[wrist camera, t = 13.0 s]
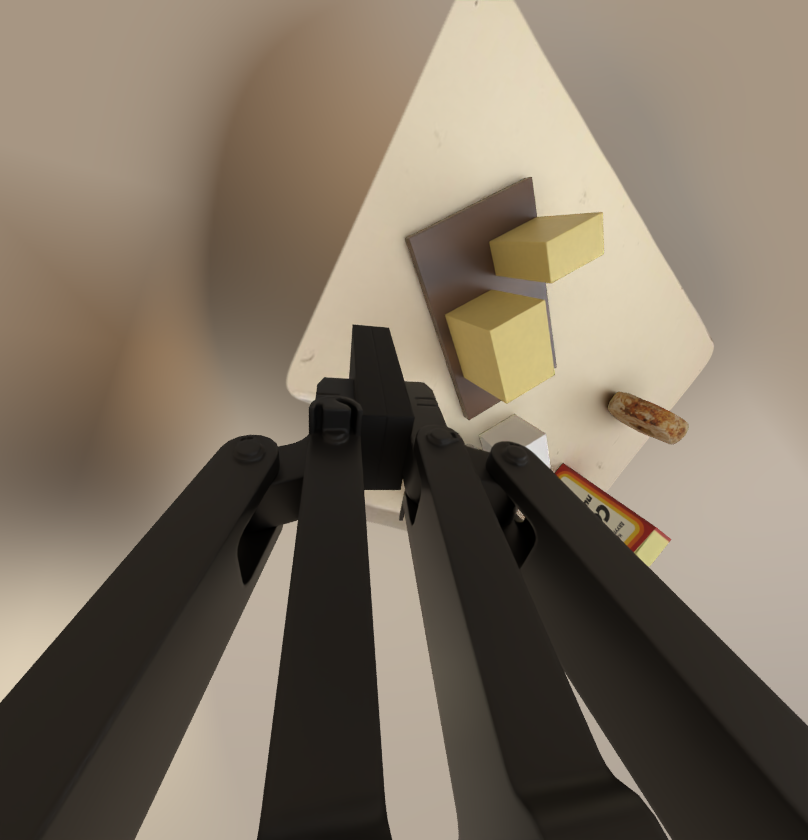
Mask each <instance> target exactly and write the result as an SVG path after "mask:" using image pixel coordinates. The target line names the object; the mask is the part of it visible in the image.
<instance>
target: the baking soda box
mask: <svg viewBox="0 0 808 840" xmlns="http://www.w3.org/2000/svg"><path fill="white" fill-rule="evenodd" d="M555 474H556V475H557V476H558V477H559V478H560V479H561V480H562V481H563V482H564V483H565V484H566V485H567V486H568V487H569V488H570V489H571V490H572V491H573V492H574V493H575V494H576V495H577V496H578V497H579V498H580V499H581V500H582V501H583V502H584V503H585V504H586V505H587V506H588V507H589V508H590V509H591V510H592V511H593V512H594V513H595V514H596V515H597V516H598V517H599V518H600V519H601V520H602V521H603V522H604V523H605V524H606V525H607V526H608V527H609V528H610V529H611V530H612V531H613V532H614V533H615V534H616V535H617V536H618V537H619V538H620V539H621V540H622V541H623V542H624V543H625V544H626V545H627V546H628V547H629V548H630V549H631V550H632V551H633V552H634V553H635V554H636V555H637V556H638V557H639V558H640V559H641V560H642V561H643V562H644V563H645V564H646V565H647V566H651V564H652V563H653V562H654V561H655V559H656V558H657V557H658V556H659V554H660V553H661V552H662V551H663V549H664V548H665V547H666V546H667V544H668V543H669V542H670V540H671V539H670V538H669V537H667V536H666V535H665V534H664V533H663V532H661V531H660V530H659V529H658V528H656V527H655V526H653V525H652V524H650V523H649V522H648V521H646V520H645V519H643V518H642V517H640V516H639V515H637V514H636V513H635V512H633V511H632V510H630V509H629V508H627V507H626V506H625V505H623V504H622V503H620V502H618V501H617V500H616V499H614V498H613V497H611V496H610V495H609V494H607V493H606V492H604V491H603V490H601V489H600V488H598V487H597V486H596V485H594V484H593V483H591V482H590V481H588V480H587V479H585V478H584V477H583V476H581V475H580V474H578V473H577V472H575V471H574V470H572V469H571V468H569V467H568V466H567V465H565V464H564V463H563V464H562V465H561V466H560V467H559V469H558V470H557V471H556V472H555Z"/></svg>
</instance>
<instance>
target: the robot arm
mask: <svg viewBox="0 0 808 840" xmlns="http://www.w3.org/2000/svg"><path fill="white" fill-rule="evenodd" d="M435 399H436V398H435V396H434V393H433V391H432V389H430V388H429V387H428V386H427V385H426V384H425V383H422V382H407V381H404V378H403V375H402V371H401V368H400V364H399V361H398V357H397V354H396V351H395V347H394V344H393V340H392V337H391V333H390V330H389V328H385V327H374V326H363V325H353V328H352V343H351V358H350V373H349V379H342V378H326V377H324V378H323V379H322V380H321V381H320V382H319V383H318V384H317V392H316V400H315V401H313V402H312V403H311V405H310V407H309V435H308V436H307V437H305V438H304V439H303V440H300V441H298V442H296V443H293V444H289V445H284V446H279V447H278V446H277V444H276V443H275V442H274V441H273V440H272V439H270V438H268V437H265V436H261V435H246V436H241V437H237V438H235V439H233V440H230V441H228V442H227V443H226V444H224V445H223V446H222V447H221V448H220V449H219V450H218V451H217V452H216V454H215V455H214V456H213V457H212V458H211V459H210V461H209V462H208V463H207V464H206V465H205V466H204V467H203V469H202V470H201V471H200V472H199V473H198V474H197V476H196V477H195V478H194V479H193V480H192V481H191V483H190V484H189V485H188V486H187V487H186V488H185V490H184V491H183V492H182V493H181V494H180V495H179V496H178V498H177V499H176V500H175V501H174V502H173V503H172V505H171V506H170V507H169V508H168V509H167V510H166V511H165V513H164V514H163V515H162V516H161V517H160V519H159V520H158V521H157V522H156V523H155V524H154V525H153V527H152V528H151V529H150V530H149V531H148V532H147V534H146V535H145V536H144V537H143V538H142V539H141V541H140V542H139V543H138V544H137V545H136V546H135V547H134V549H133V550H132V551H131V552H130V553H129V554H128V556H127V557H126V558H125V559H124V560H123V561H122V562H121V564H120V565H119V566H118V567H117V568H116V569H115V571H114V572H113V573H112V574H111V575H110V576H109V578H108V579H107V580H106V581H105V582H104V583H103V585H102V586H101V587H100V588H99V589H98V590H97V592H96V593H95V594H94V595H93V596H92V597H91V599H90V600H89V601H88V602H87V603H86V604H85V605H84V607H83V608H82V609H81V610H80V611H79V612H78V613H77V615H76V616H75V617H74V618H73V619H72V621H71V622H70V623H69V624H68V625H67V626H66V627H65V629H64V630H63V631H62V632H61V633H60V634H59V636H58V637H57V638H56V639H55V640H54V641H53V643H52V644H51V645H50V646H49V647H48V648H47V650H46V651H45V652H44V653H43V654H42V655H41V656H40V658H39V659H38V660H37V661H36V662H35V663H34V664H33V666H32V667H31V668H30V669H29V670H28V671H27V673H26V674H25V675H24V676H23V677H22V678H21V680H20V681H19V682H18V683H17V684H16V685H15V687H14V688H13V689H12V690H11V691H10V692H9V694H8V695H7V696H6V697H5V698H4V699H3V700H2V702H1V703H0V840H135V838H136V835H137V833H138V831H139V829H140V827H141V825H142V823H143V820H144V819H145V817H146V814H147V812H148V810H149V808H150V806H151V804H152V802H153V800H154V798H155V795H156V793H157V791H158V789H159V787H160V785H161V782H162V781H163V779H164V776H165V774H166V772H167V770H168V768H169V766H170V764H171V762H172V760H173V758H174V755H175V753H176V751H177V749H178V747H179V745H180V743H181V741H182V738H183V736H184V734H185V732H186V730H187V728H188V726H189V724H190V722H191V720H192V717H193V716H194V713H195V711H196V709H197V707H198V705H199V703H200V701H201V699H202V697H203V695H204V692H205V690H206V688H207V686H208V684H209V682H210V680H211V678H212V676H213V673H214V671H215V669H216V667H217V665H218V663H219V661H220V659H221V657H222V654H223V652H224V650H225V648H226V646H227V644H228V642H229V640H230V638H231V636H232V633H233V631H234V629H235V627H236V625H237V623H238V621H239V619H240V616H241V615H242V612H243V610H244V608H245V606H246V604H247V602H248V600H249V598H250V595H251V593H252V591H253V589H254V587H255V585H256V583H257V581H258V579H259V577H260V575H261V572H262V570H263V568H264V566H265V564H266V562H267V560H268V558H269V556H270V554H271V551H272V549H273V547H274V545H275V543H276V541H277V539H278V536H279V535H280V533H281V530H282V527H283V524H286V523H290V522H293V521H297V520H298V526H297V534H296V542H295V550H294V557H293V565H292V573H291V581H290V589H289V597H288V605H287V612H286V620H285V629H284V636H283V645H282V652H281V660H280V668H279V676H278V684H277V692H276V700H275V707H274V715H273V723H272V731H271V739H270V747H269V755H268V763H267V771H266V778H265V787H264V795H263V802H262V810H261V817H260V824H259V831H258V836H257V840H392V837H391V833H390V828H389V824H388V819H387V812H386V805H385V792H384V778H383V766H382V765H383V763H382V749H381V735H380V719H379V704H378V690H377V675H376V660H375V646H374V631H373V616H372V601H371V587H370V573H369V572H370V571H369V557H368V542H367V527H366V512H365V497H364V490H401V484H402V479H403V481H404V486H405V491H404V496H403V501H402V506H401V511H400V517H399V520H403V517H404V513H405V519H406V525H407V531H408V536H409V542H410V548H411V553H412V559H413V565H414V570H415V576H416V582H417V587H418V594H419V599H420V605H421V611H422V616H423V622H424V628H425V634H426V640H427V645H428V651H429V656H430V662H431V668H432V674H433V679H434V685H435V691H436V697H437V703H438V708H439V714H440V720H441V726H442V731H443V737H444V743H445V749H446V754H447V759H448V766H449V771H450V777H451V783H452V789H453V794H454V800H455V806H456V812H457V819H458V830H459V839H458V840H668V838H667V836H666V834H665V833H664V831H663V829H662V827H661V826H660V824H659V822H658V820H657V819H656V817H655V815H654V814H653V813H652V812H651V810H650V809H649V808H648V807H647V805H646V804H645V803H644V802H643V800H642V799H641V798H640V796H639V795H638V794H636V793H635V792H634V791H633V790H631V789H630V788H628V787H627V786H626V785H625V784H623V783H622V782H621V781H619V780H618V779H617V778H616V777H615V776H614V775H613V774H612V772H611V771H610V770H609V768H608V767H607V766H606V764H605V762H604V760H603V758H602V756H601V754H600V752H599V750H598V748H597V745H596V743H595V741H594V739H593V736H592V734H591V732H590V730H589V727H588V725H587V723H586V720H585V718H584V716H583V714H582V711H581V709H580V707H579V704H578V702H577V700H576V697H575V695H574V693H573V691H572V688H571V686H570V684H569V681H568V679H567V677H566V675H567V676H568V678H569V679H570V681H571V682H572V684H573V686H574V687H575V689H576V690H577V692H578V693H579V695H580V697H581V698H582V699H583V701H584V703H585V704H586V706H587V707H588V709H589V710H590V712H591V714H592V715H593V716H594V718H595V720H596V721H597V723H598V725H599V726H600V728H601V729H602V731H603V732H604V734H605V736H606V737H607V739H608V740H609V742H610V743H611V745H612V746H613V748H614V750H615V751H616V753H617V754H618V756H619V757H620V759H621V761H622V762H623V764H624V765H625V767H626V768H627V770H628V771H629V773H630V774H631V776H632V778H633V779H634V781H635V782H636V784H637V785H638V787H639V788H640V790H641V792H642V793H643V795H644V796H645V798H646V799H647V801H648V802H649V804H650V806H651V807H652V809H653V810H654V812H655V813H656V815H657V817H658V818H659V820H660V821H661V823H662V824H663V826H664V828H665V829H666V831H667V832H668V834H669V835H670V837H671V838H672V840H808V726H807V725H806V724H805V723H804V722H803V721H802V720H801V719H800V718H799V717H798V716H797V715H796V714H795V713H794V712H793V711H792V710H791V709H790V708H789V707H788V706H787V705H786V704H785V703H784V702H783V701H782V700H781V699H780V698H779V697H778V696H777V695H776V694H775V693H774V692H773V691H772V690H771V689H770V688H769V687H768V686H767V685H766V684H765V683H764V682H763V681H762V680H761V679H760V678H759V677H758V676H757V675H756V674H755V673H754V672H753V671H752V670H751V669H750V668H749V667H748V666H747V665H746V664H745V663H744V662H743V661H742V660H741V659H740V658H739V657H738V656H737V655H736V654H735V653H734V652H733V651H732V650H731V649H730V648H729V647H728V646H727V645H726V644H725V643H724V642H723V641H722V640H721V639H720V638H719V637H718V636H717V635H716V634H715V633H714V632H713V631H712V630H711V629H710V628H709V627H708V626H707V625H706V624H705V623H704V622H703V621H702V620H701V619H700V618H699V617H698V616H697V615H696V614H695V613H694V612H693V611H692V610H691V609H690V608H689V607H688V606H687V605H686V604H685V603H684V602H683V601H682V600H681V599H680V598H679V597H678V596H677V595H676V594H675V593H674V592H673V591H672V590H671V589H670V588H669V587H668V586H667V585H666V584H665V583H664V582H663V581H662V580H661V579H660V578H659V577H658V576H657V575H656V574H655V573H654V572H653V571H652V570H651V569H650V568H649V567H648V566H647V565H646V564H645V563H644V562H643V561H642V560H641V559H640V558H639V557H638V556H637V555H636V554H635V553H634V552H633V551H632V550H631V549H630V548H629V547H628V546H627V545H626V544H625V543H624V542H623V541H622V540H621V539H620V538H619V537H618V536H617V535H616V534H615V533H614V532H613V531H612V530H611V529H610V528H609V527H608V526H607V525H606V524H605V523H604V522H603V521H602V520H601V519H600V518H599V517H598V516H597V515H596V514H595V513H594V512H593V511H592V510H591V509H590V508H589V507H588V506H587V505H586V504H585V503H584V502H583V501H582V500H581V499H580V498H579V497H578V496H577V495H576V494H575V493H574V492H573V491H572V490H571V489H570V488H569V487H568V486H567V485H566V484H565V483H564V482H563V481H562V480H561V479H560V478H559V477H558V476H557V475H556V474H555V473H554V472H553V471H552V470H551V469H550V468H549V467H548V466H547V465H546V464H545V463H544V462H543V461H541V460H540V459H539V458H538V457H537V456H536V455H535V454H534V453H533V452H532V451H531V450H529V449H528V448H527V447H525V446H523V445H520V444H518V443H514V442H510V441H501V442H498V443H495V444H494V445H493V446H492V448H491V450H490V452H487V451H483V450H479V449H475V448H471V447H468V446H466V445H465V444H464V442H463V440H462V438H461V437H460V435H459V434H458V433H457V432H455V431H454V430H453V429H451V428H448V427H447V425H446V423H445V420H444V418H443V416H442V413H441V411H440V408H439V407H438V403H437V401H436V400H435ZM518 509H519V510H520V511H521V512H522V514H523V515H524V516H525V519H524V520H522V519H521V518H520V517H519V516H518V515H517V514H516V513H517V511H518ZM565 673H566V675H565Z"/></svg>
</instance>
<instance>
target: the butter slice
mask: <svg viewBox="0 0 808 840" xmlns="http://www.w3.org/2000/svg"><path fill="white" fill-rule="evenodd" d="M489 244H490V249H491V254H492V259H493V263H494V268H495V273H496V276H501V277H508V278H516V279H523V280H530V281H537V282H544V283H553V282H555V281H556V280H558V279H560V278H562V277H564V276H565V275H567V274H569V273H571V272H573V271H574V270H576V269H578V268H580V267H582V266H583V265H585V264H587V263H589V262H591V261H592V260H594V259H596V258H598V257H600V256H601V255H603V254H604V238H603V212H597V213H584V214H570V215H557V216H544V217H536V218H534V219H532V220H530V221H528V222H526V223H524V224H522V225H520V226H518V227H516V228H515V229H513V230H511V231H509V232H507V233H505V234H503V235H501V236H499V237H497V238H495V239H493V240H491V241H490V242H489Z"/></svg>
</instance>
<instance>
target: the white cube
mask: <svg viewBox="0 0 808 840" xmlns="http://www.w3.org/2000/svg"><path fill="white" fill-rule="evenodd" d="M479 437H480V441H481V444H482V448H483V451H487V452H490V450H491V448H492V446H493V445H494V444H495V443H498V442H501V441H510V442H514V443H518V444H520V445H523V446H525V447H527V448H528V449H529V450H531V451H532V452H533V453H534V454H535V455H536V456H537V457H538V458H539V459H540V460H541V461H543V462H544V463H545V464H546V465H547V466H548V467H549V468H550V467H551V466H550V459H549V452H548V444H547V437H546V434H545V433H544V432H542V431H541V430H539V429H538V428H536V427H534V426H533V425H531V424H530V423H528V422H527V421H525V420H523V419H522V418H520V417H519V416H517V415H516V414H514V415H513V416H511V417H509V418H507V419H506V420H504V421H502V422H501V423H499V424H497V425H495V426H494V427H492V428H490V429H489V430H487V431H485V432H484V433H482V434H480V435H479Z"/></svg>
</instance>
